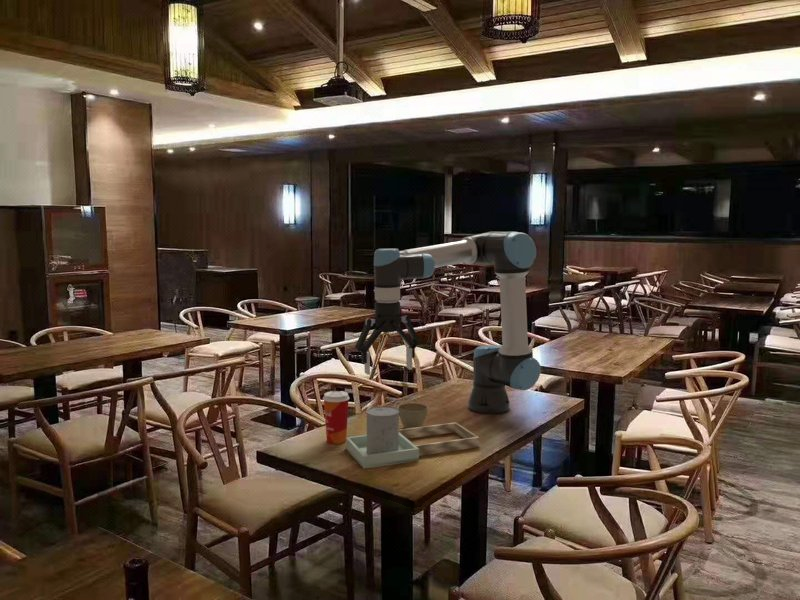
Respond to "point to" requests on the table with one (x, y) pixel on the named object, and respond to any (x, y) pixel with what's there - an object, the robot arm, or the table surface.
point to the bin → (359, 448)
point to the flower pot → (412, 414)
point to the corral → (445, 446)
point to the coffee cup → (336, 416)
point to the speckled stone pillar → (382, 430)
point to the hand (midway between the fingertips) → (388, 371)
